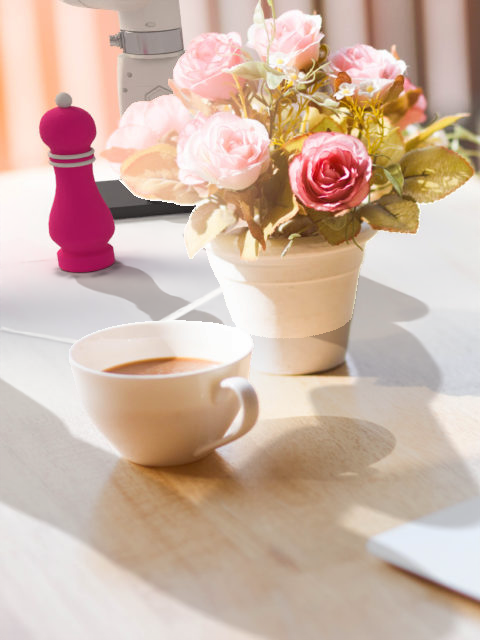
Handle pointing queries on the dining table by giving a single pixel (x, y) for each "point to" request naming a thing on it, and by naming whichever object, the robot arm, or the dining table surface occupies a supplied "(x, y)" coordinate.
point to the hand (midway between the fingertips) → (169, 182)
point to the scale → (134, 202)
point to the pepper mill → (76, 190)
